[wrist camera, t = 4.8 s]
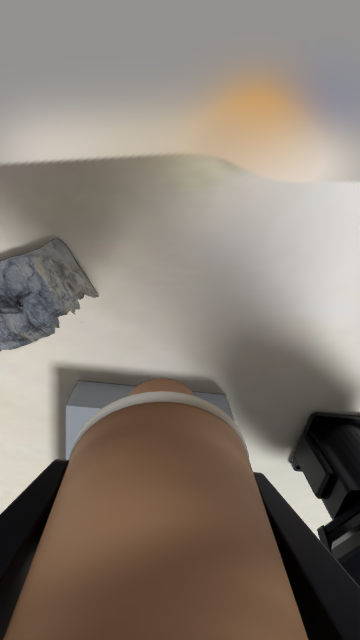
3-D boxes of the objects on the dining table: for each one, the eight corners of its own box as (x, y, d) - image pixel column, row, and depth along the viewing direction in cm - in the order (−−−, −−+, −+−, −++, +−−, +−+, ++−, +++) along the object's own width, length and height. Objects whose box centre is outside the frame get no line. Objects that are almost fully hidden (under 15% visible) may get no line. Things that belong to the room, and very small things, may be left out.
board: (225, 394, 24) (234, 420, 21) (200, 495, 28) (204, 527, 25) (78, 380, 22) (65, 405, 20) (75, 487, 27) (65, 520, 24)
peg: (243, 357, 11) (690, 1224, 2) (214, 464, 13) (341, 1119, 4) (94, 341, 10) (-513, 1516, 1) (89, 455, 12) (-136, 1202, 3)
